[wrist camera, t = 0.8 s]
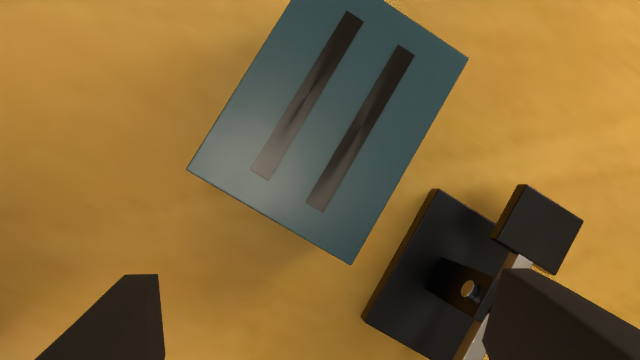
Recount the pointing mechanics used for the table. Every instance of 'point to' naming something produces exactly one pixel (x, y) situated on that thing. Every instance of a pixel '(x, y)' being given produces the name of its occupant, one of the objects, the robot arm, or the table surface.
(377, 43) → the toaster
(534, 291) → the robot arm
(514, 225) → the lever
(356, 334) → the table surface
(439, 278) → the bracket
